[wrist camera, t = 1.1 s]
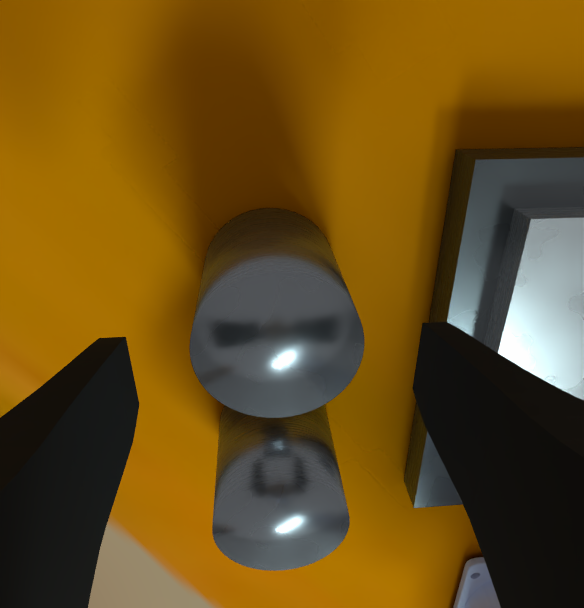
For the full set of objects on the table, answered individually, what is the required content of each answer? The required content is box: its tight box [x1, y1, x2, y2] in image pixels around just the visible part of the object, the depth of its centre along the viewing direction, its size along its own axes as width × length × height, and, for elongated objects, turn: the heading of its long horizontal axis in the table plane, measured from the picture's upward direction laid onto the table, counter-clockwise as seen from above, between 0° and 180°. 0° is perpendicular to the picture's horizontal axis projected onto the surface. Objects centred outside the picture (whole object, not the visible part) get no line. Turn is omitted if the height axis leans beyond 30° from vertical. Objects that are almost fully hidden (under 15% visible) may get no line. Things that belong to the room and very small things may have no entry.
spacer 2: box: [213, 405, 349, 570], centre depth 18 cm, size 4×4×5 cm
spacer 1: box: [190, 208, 364, 418], centre depth 15 cm, size 4×4×5 cm
